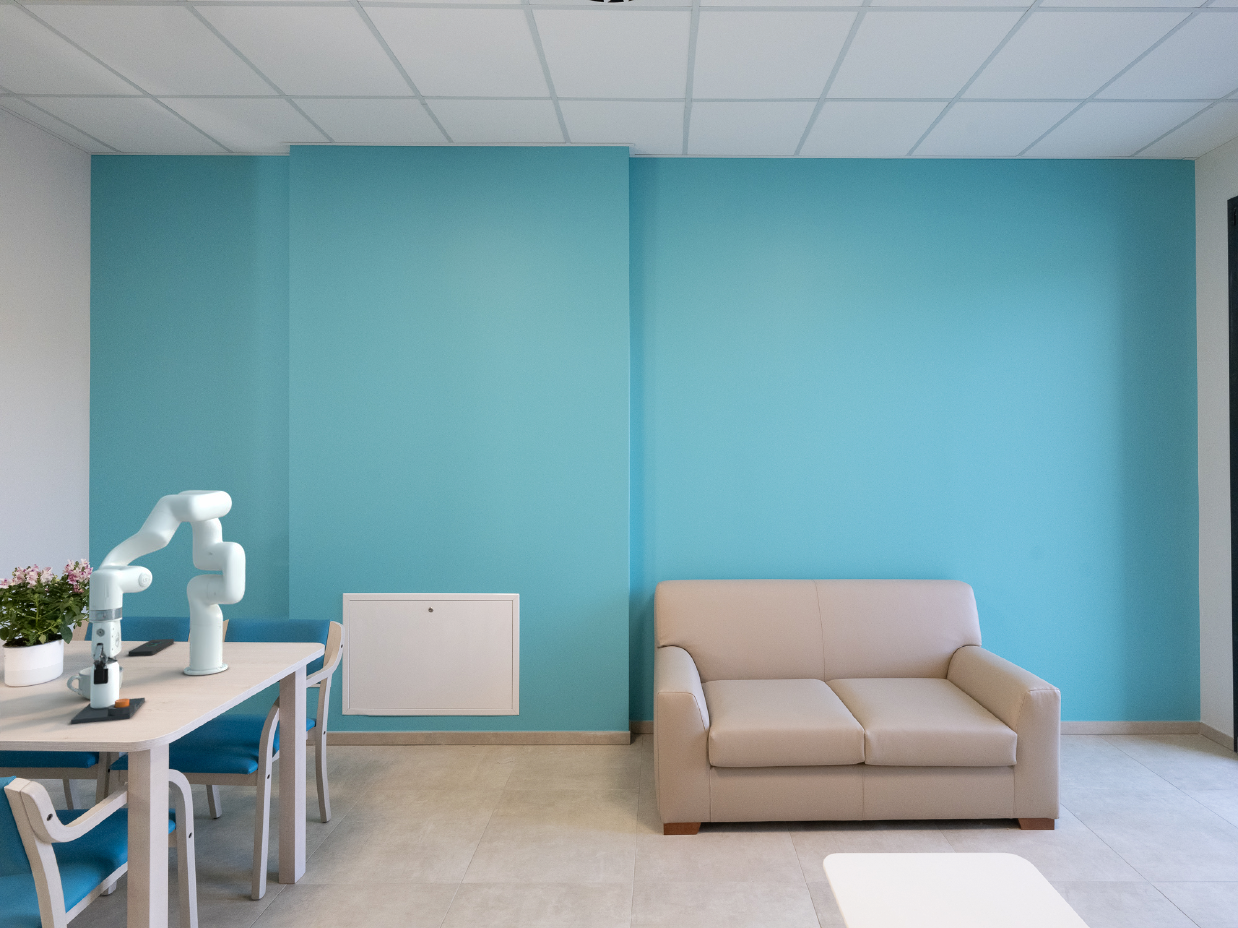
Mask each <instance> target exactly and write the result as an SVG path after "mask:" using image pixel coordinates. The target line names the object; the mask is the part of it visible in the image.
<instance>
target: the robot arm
mask: <svg viewBox="0 0 1238 928" xmlns="http://www.w3.org/2000/svg"><path fill="white" fill-rule="evenodd" d="M232 506H233V501H232V497H231V496H230V494H229V493H228V492H226V491H224V490H215V489H213V490H212V489H211V490H207V489H206V490H204V489H199V490H198V489H195V490H194V489H189V490H183V491H180V492H179V493H177V494H167V495H163V496H162V497H160V499H158V501H156V504H155V505H154V506H153V508H152V510H151V512H150V513H149V515H148V516H147V517H146V519H145V521H144V523H143V524H142V526H141V527H140V529H139V530H138V532H136V533H135V534H132V535H131V536H129V537H128V538H126V539H125V540H124V541H122V542H120V543H119V544H118V545H116V546H115V547H114V548H112V549H111V550H110V551H109V552H108V553H107V554H106V555H105V557H104V559H103V560H102V562H101V563H100V565H99V567H98V568H97V570H94V571H91V573H90V575H89V597H88V598H89V599H88V600H89V601H88V603H89V604H88V605H89V607H88V622H89V623H92V627H91V628H92V629H91V642H90V643H91V646H90V651H91V653H90V654H91V658H92V659H93V663H94V684H95V685H96V684H107V683H108V668H107V663H108V659H116V660H117V655H118V654H119V653H120V652H121V651H122V627H121V620H123V599H124V598H123V594H128V593H131V594H132V593H134V594H135V593H141V592H143V591H145V590H147V589H148V588H149V587H150V586H151V584H152V583H153V574H152V572H151V571H150V570H149V569H148V568H146V567H144V566H141V565H129V564H130V563H132V562H133V561H134V560H136V559H138V558H140V557H142V556H145V555H149V554H151V553H154V552H156V551H158V550H159V551H160V550H162V549H163V548H165V547H167V546H168V545H169V543H170V542H171V540H172V538H173V536H174V535H175V533H176V532H177V530H178V528H179V526H180V525H181V524H182V523H189V524H190V526H191V529H192V564H193V567H194V568H196V569H198V570H200V571H214V572H215V571H218V572H222V574H215V573H213V574H211V573H210V574H209V573H205V574H198V575H195V576H193V577H192V578H191V579H190V580H189V581H188V583H187V586H186V597H187V601H188V606H189V660H188V661H189V666H187V667H185V668H183V674H184V675H189V676H206V675H213V674H217V673H218V674H219V673H221V672H224V671H226V670H227V669H228V667H229V666H228V665H229V664H227V663H225V662H223V643H224V641H223V639H224V638H223V636H224V635H223V633H224V629H223V628H224V615H223V611H222V609H221V607H220V605H235V604H237V603H240V601H242V600H243V598H244V595H245V591H246V552H245V550H244V548H243V546H242V545H241V544H240V543H238V542H236V541H223V526H222V524H221V523H222V522H221V521H220V518H223V517H225V516H226V515H227V514H229V512H230V510H231V509H232ZM101 660H104V662H103V661H101Z"/></svg>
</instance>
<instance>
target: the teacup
mask: <svg viewBox="0 0 1238 928" xmlns="http://www.w3.org/2000/svg"><path fill="white" fill-rule="evenodd" d="M91 668H92V666H88V667H86V668H83V669H80V670H79V671H78V675H72V676H71V677H69V678H68V679H67V682H66V687H67V689H69V690H70V691H72V692H75V693H77V695H79V696H82V697H84V698H85V699H86V700H90V690H91ZM123 674H124V667H122V666H120V665H119V691H120V690H121V688H122V684H123ZM75 680H77V681H78V688H75V687H74V686H73V682H74V681H75Z"/></svg>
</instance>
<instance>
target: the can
mask: <svg viewBox="0 0 1238 928" xmlns="http://www.w3.org/2000/svg"><path fill="white" fill-rule="evenodd" d="M101 661H103V662H104V660H101ZM119 666H120V664H119V662H118V659H117V658H116V659H108V663H107V668H108V683H107V684H96V685H95V684H94V662H92V666H91V667H92V668H91V690H90V699H89V700H90V703H89V704H90V706H91V707H92V708H93V709H104V708H108V707H109V706H110V705H113V704H115V701H116V700H119V699H120V690H119Z"/></svg>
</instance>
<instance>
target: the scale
mask: <svg viewBox="0 0 1238 928" xmlns="http://www.w3.org/2000/svg"><path fill="white" fill-rule="evenodd" d="M128 699H129V706H126V707H120V708H115V704H113V705H110V706H109V707H108V708H104V709H93V708H92V707H91V706H90V703H88V704H87V705H86V706H85V707H84V708H83V709H82V710H80V712H78V713H77V714H76V715H75V716H73V718H72V719H71V721H70V724H71V725H79V724H80V725H81V724H88V723H100V722H112V721H121V720H131V718H132V717H133V716H134V715H135V713H136V712H137V711H138V710H139V709H140V708H141V707H142V705H143V704H144V703H145V702H146V698H145V697H135V698H128Z"/></svg>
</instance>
